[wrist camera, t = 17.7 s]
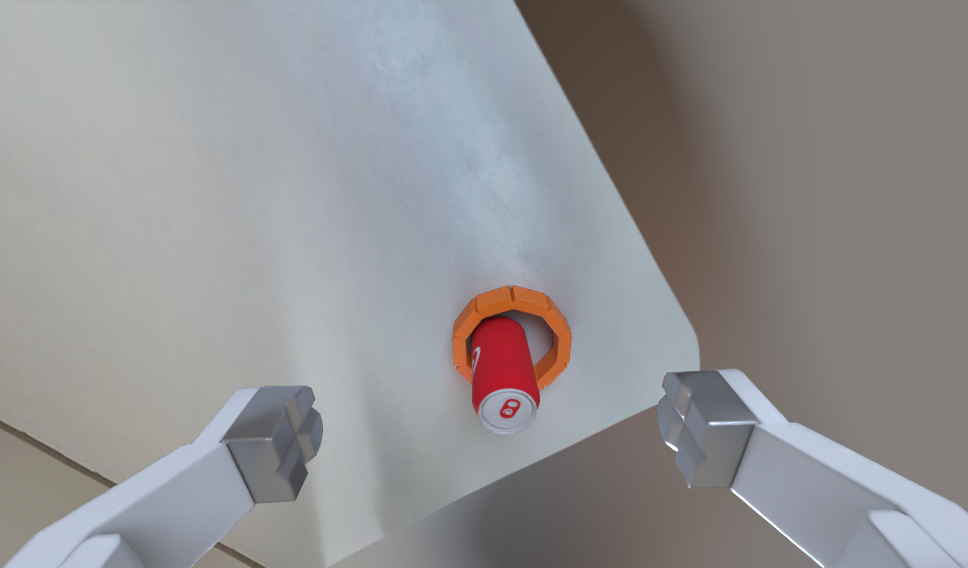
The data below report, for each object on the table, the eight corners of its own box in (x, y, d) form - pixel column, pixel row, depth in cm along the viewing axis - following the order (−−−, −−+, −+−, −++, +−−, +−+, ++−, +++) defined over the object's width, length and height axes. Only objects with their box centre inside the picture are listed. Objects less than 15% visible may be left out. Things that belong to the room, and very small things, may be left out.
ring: (570, 283, 42) (575, 296, 39) (561, 379, 48) (566, 395, 45) (451, 286, 42) (450, 299, 39) (457, 382, 48) (456, 398, 45)
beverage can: (463, 348, 45) (460, 427, 35) (484, 305, 43) (489, 376, 32) (511, 364, 47) (523, 446, 36) (534, 324, 44) (555, 398, 33)
